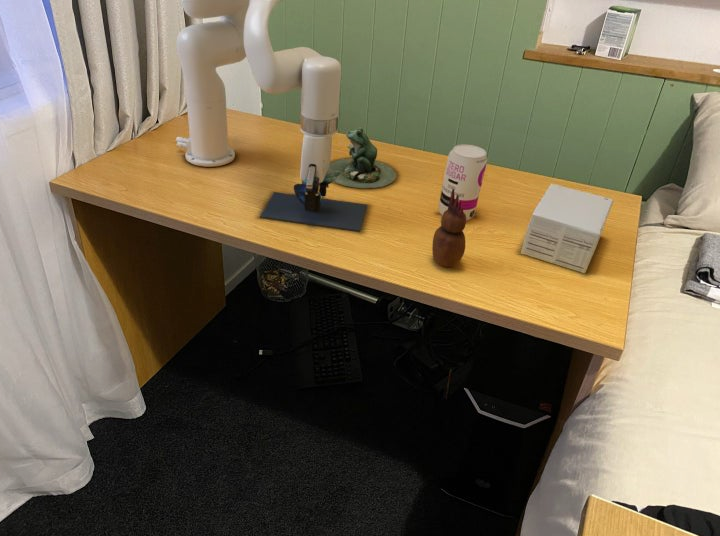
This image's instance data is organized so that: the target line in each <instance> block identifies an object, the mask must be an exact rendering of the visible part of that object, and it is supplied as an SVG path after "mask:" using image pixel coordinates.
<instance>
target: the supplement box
mask: <svg viewBox="0 0 720 536" xmlns="http://www.w3.org/2000/svg"><path fill="white" fill-rule="evenodd" d="M614 201H615V200H614V199H613V198H610V197H606V196H602V195H599V194H594V193H591V192H586V191H583V190H579V189H575V188H570V187H567V186H564V185H560V184H556V183H550V185H549V186H548V187H547V189H546V191H545V193H544V194H543V196H542V197H541V198H540V201H539V202H538V204H537V205H536V207H535V209H534V210H533V212H532V214H531V217H530V220H529V222H528V226H527V228H526V232H525V235H524V239H523V243H522V247H521V251H520V254H521V255H524V256H528V257H531V258H534V259H538V260H541V261H543V262H547V263H551V264H554V265H557V266H560V267H563V268H567V269H570V270H572V271H576V272H579V273H582V274H585V273H586V272H587V270H588V267H589V265H590V263H591V260H592V258H593V256H594V253H595V250H596V248H597V246H598V243H599V241H600V238H601V235H602V232H603V230H604V227H605V225H606V222H607V219H608V216H609V214H610V211H611V209H612V205H613V203H614Z"/></svg>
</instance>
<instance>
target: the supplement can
mask: <svg viewBox="0 0 720 536" xmlns="http://www.w3.org/2000/svg"><path fill="white" fill-rule="evenodd" d="M487 164H488V155H487V151H486V150H485V149H483V148H482V147H480V146H477V145H473V144H462V143H461V144H456V145H454V146H453V147H452V149H451V151H450V152H449V153H448V155H447V160H446V166H445V170H444V174H443V175H444V176H443V181H442V186H441V192H440V196H439V202H438V206H437V210H438V212H439V213H440V215H441V216H442V215H443V213H444V212H445V211H446V210H448V206H449V201H450V197H451V193H452V189H454V199H456V196H457V195H459V200H458V204H459V202H461V208H463V212H464V213H465V215H466V221H469V220H470V219H472V218H473V217H474V216H475V214H476V210H477V206H478V201H479V197H480V193H481V190H482V185H483V180H484V176H485V172H486V168H487Z"/></svg>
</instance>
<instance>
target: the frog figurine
mask: <svg viewBox="0 0 720 536" xmlns="http://www.w3.org/2000/svg"><path fill="white" fill-rule="evenodd" d="M345 137H346V138H347V139H348V140H349V142H350V143H349V144H348V145H347V148H348V149H349V152H348V154H349V156H351V158H342V159H338V160H335V161H332V162H330V166H329V169H328V171H327V173H330V172H333V171H340V175H339V176H338V177H337V178H336V180H335V181H334V182H333V183H336V184H339V185H341V186H345V187H349V188H356V189H357V188H358V189H376V188H383V187H385V186H387V185H390V184H392V183H393V182H394V181H395V180H396V178H397V173H396V171H395V169H393V168H392V167H391V166H390V165H388V164H386V163H383V162H381V161H378V160H377V157H378V148H377V146H375V145H374V143H372V142H371V140H370V138H369V136H368V135H367V134H366V133H365V132H364V129H363V127H358V128H357V129H355V130H353V129H352V130H349V131H346V134H345Z"/></svg>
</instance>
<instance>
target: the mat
mask: <svg viewBox="0 0 720 536" xmlns="http://www.w3.org/2000/svg"><path fill="white" fill-rule="evenodd" d="M367 209H368V204H367V203H359V202H352V201H344V200H336V199H330V198H329V199H328V198H323V197H321V208H320V210H319V212H313V211H306V210H305V206H304V205H303V204H302V203H301V202H300V201H299V200H298V199H297V197H296V195H295V194H291V193H285V192H284V193H283V192H277V191H274V192H273V193H272V195H271V197H270V198H269V200H268V201H267V204H266V205H265V207H264V209H263V210H262V212H261V214H260V216H259V218H260V219H267V220H272V221H280V222H288V223H295V224H302V225H308V226H315V227H322V228H328V229H329V228H330V229H338V230H342V231H351V232H359V233H360V232H361V230H362V226H363V223H364V218H365V215H366V212H367Z"/></svg>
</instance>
